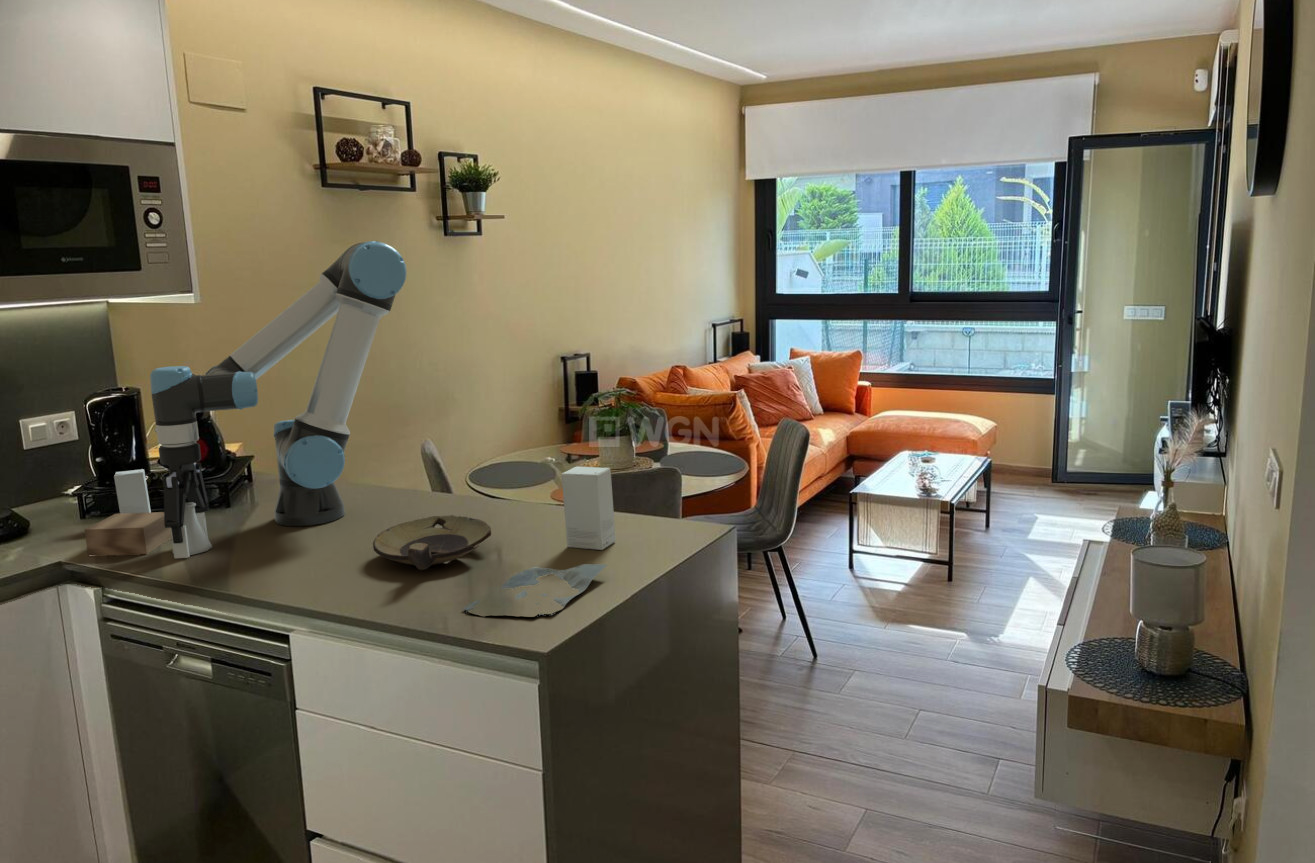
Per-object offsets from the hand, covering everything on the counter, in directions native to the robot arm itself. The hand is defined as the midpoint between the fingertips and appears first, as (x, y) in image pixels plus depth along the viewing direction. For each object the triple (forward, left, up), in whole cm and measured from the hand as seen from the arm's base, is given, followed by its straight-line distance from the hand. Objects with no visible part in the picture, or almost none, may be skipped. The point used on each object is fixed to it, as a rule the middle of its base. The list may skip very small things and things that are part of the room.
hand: (191, 550), depth 204 cm
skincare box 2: (-82, +10, 0) cm, 83 cm away
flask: (0, 0, 0) cm, 0 cm away
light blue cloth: (-73, +37, -1) cm, 82 cm away
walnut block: (+14, -6, -1) cm, 15 cm away
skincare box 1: (+22, -25, 0) cm, 33 cm away
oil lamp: (-50, +15, -1) cm, 52 cm away
